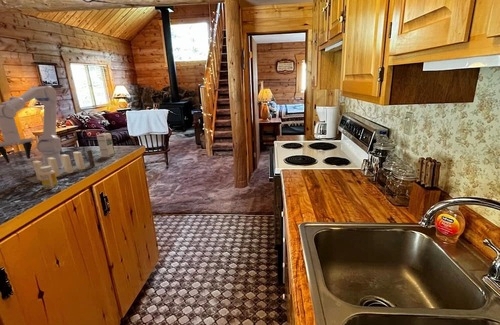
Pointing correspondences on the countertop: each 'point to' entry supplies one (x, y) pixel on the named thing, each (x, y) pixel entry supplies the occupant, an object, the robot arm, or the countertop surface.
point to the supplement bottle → (48, 177)
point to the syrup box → (105, 144)
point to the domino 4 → (79, 160)
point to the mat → (62, 172)
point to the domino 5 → (90, 157)
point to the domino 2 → (54, 165)
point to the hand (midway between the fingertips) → (18, 160)
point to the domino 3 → (66, 163)
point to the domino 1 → (37, 168)
